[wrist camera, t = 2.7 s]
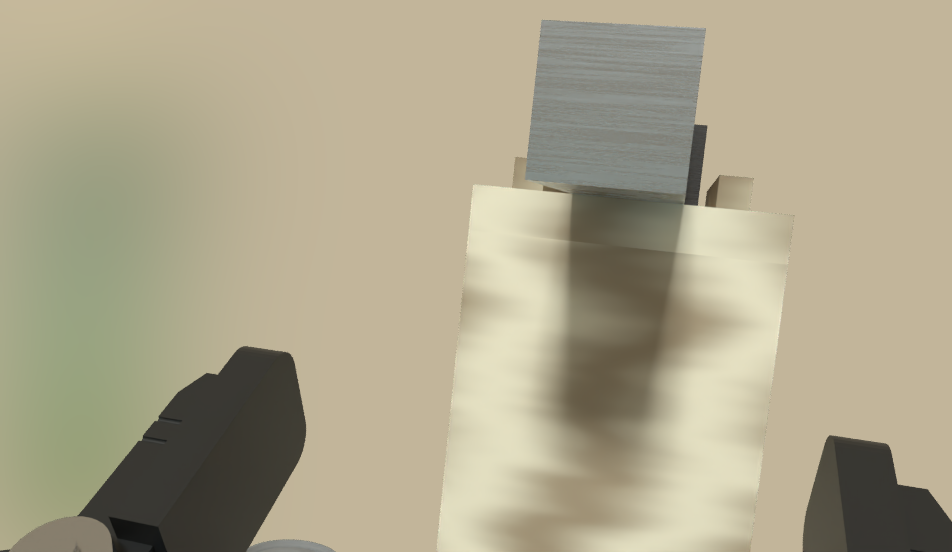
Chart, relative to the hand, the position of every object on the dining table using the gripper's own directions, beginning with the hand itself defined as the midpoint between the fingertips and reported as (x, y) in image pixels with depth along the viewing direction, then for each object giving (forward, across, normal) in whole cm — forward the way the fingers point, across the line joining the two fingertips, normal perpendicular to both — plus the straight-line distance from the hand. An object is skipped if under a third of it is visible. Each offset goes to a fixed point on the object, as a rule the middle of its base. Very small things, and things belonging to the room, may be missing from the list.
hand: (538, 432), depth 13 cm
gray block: (+17, 0, +5) cm, 18 cm away
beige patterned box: (+4, 0, +35) cm, 35 cm away
